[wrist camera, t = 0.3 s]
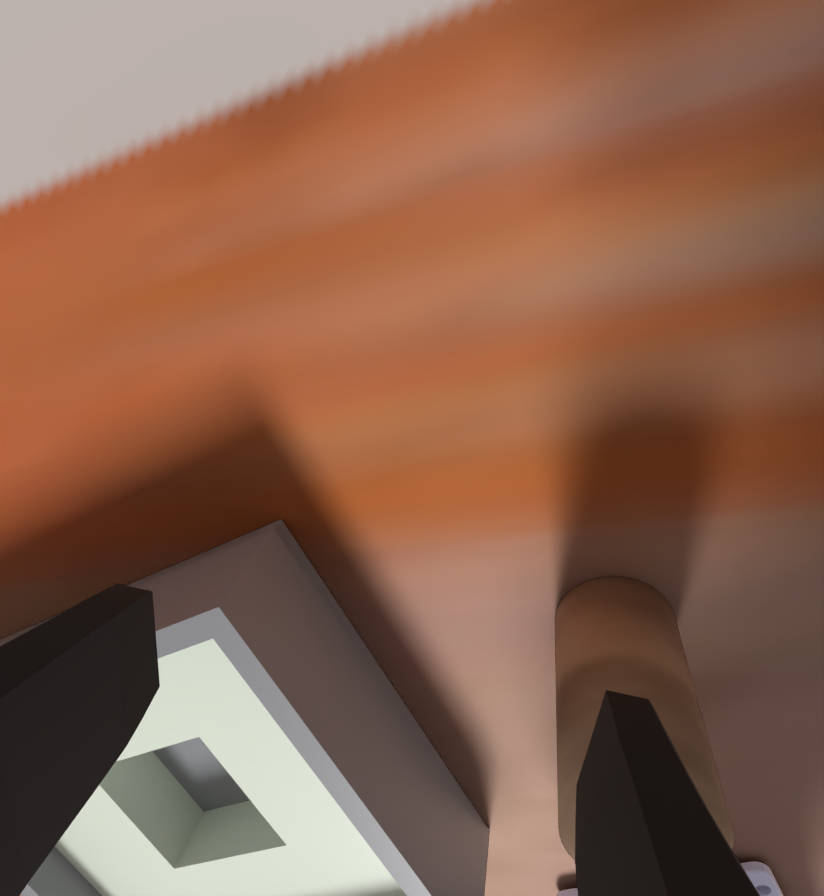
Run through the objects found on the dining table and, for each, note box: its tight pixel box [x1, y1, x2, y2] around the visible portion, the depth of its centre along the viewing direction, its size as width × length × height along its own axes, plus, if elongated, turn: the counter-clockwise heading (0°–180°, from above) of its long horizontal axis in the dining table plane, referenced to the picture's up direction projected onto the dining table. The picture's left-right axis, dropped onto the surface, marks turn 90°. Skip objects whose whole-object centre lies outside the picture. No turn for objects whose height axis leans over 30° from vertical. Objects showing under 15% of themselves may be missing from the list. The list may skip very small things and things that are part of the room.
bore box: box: [0, 519, 490, 896], centre depth 24 cm, size 15×16×4 cm
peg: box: [555, 576, 734, 860], centre depth 17 cm, size 4×4×7 cm
